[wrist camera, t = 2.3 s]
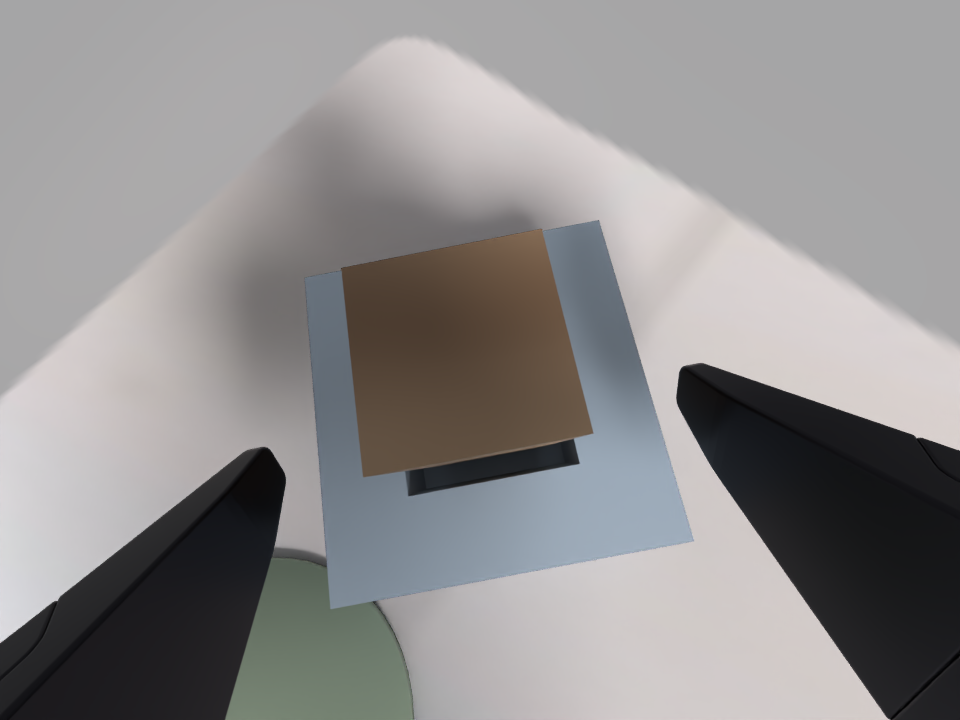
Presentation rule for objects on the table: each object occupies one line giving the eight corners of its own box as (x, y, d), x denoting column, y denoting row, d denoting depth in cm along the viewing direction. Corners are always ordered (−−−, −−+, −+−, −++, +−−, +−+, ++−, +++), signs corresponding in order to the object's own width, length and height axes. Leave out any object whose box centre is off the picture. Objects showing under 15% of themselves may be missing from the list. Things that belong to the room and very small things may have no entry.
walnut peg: (541, 446, 15) (593, 433, 7) (441, 465, 15) (362, 477, 7) (520, 350, 16) (541, 228, 8) (427, 368, 16) (341, 268, 8)
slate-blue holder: (637, 516, 16) (693, 541, 12) (380, 564, 16) (330, 609, 12) (574, 280, 19) (598, 220, 14) (354, 322, 19) (304, 277, 14)
